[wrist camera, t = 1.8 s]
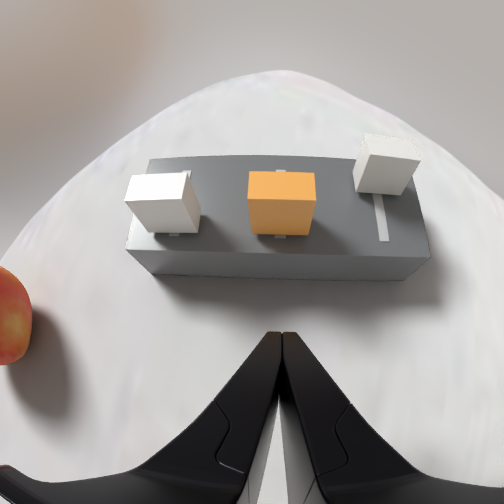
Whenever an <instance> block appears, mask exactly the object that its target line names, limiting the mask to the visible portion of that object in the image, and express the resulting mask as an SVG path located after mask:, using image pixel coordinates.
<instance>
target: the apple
mask: <svg viewBox="0 0 504 504" xmlns="http://www.w3.org/2000/svg"><path fill="white" fill-rule="evenodd" d="M31 329H32V308H31V303H30V299H29V296H28V293H27V291H26V289H25V288H24V286H23V285H22V283H21V282H20V281H19V280H18V279H17V278H16V277H15V276H14V275H13V274H12V273H11V272H9V271H8V270H6V269H5V268H3V267H1V266H0V365H7V364H10V363H13V362H15V361H17V360H19V359H20V358H21V357H22V356H24V354H25V353H26V351H27V349H28V346H29V342H30V336H31Z"/></svg>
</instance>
